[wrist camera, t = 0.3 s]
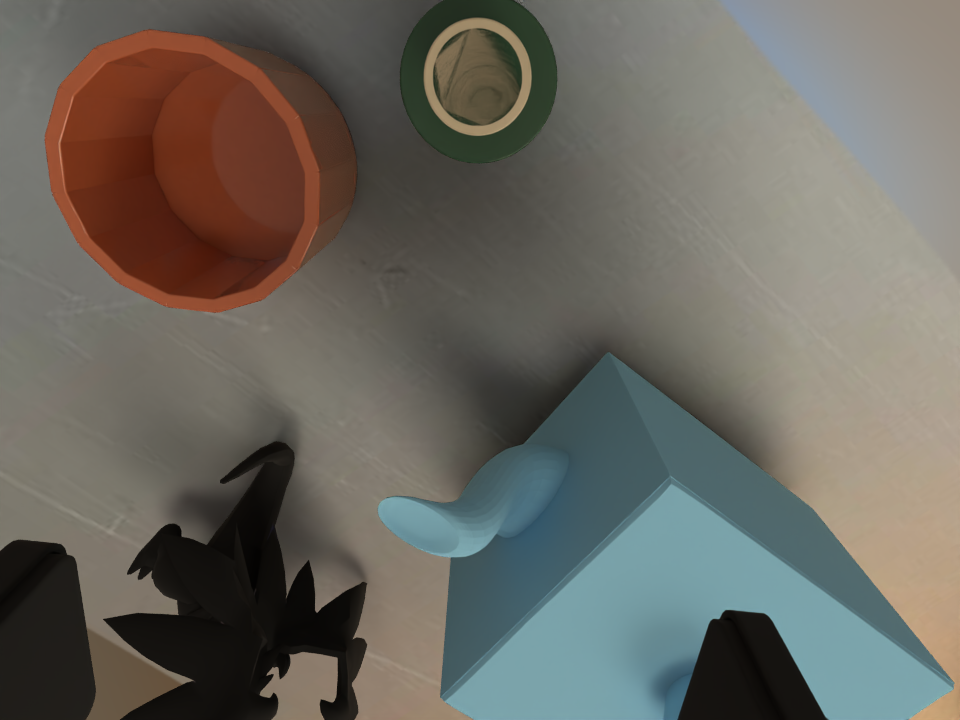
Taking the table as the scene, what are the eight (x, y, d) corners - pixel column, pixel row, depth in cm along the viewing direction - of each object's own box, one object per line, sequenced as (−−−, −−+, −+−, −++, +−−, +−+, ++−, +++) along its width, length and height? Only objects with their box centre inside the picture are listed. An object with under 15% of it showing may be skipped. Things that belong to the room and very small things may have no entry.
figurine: (367, 485, 39) (496, 599, 33) (229, 661, 37) (337, 821, 30) (170, 362, 26) (315, 508, 20) (-59, 617, 24) (20, 876, 18)
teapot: (832, 516, 32) (1058, 783, 20) (679, 645, 36) (786, 946, 23) (495, 255, 28) (504, 385, 15) (354, 433, 31) (260, 666, 18)
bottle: (430, 18, 24) (395, -36, 15) (544, 33, 24) (580, -11, 15) (420, 139, 26) (383, 159, 16) (527, 153, 26) (550, 180, 17)
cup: (140, 35, 24) (26, 13, 18) (362, 64, 25) (322, 51, 19) (156, 254, 28) (64, 295, 22) (352, 277, 28) (316, 324, 22)
